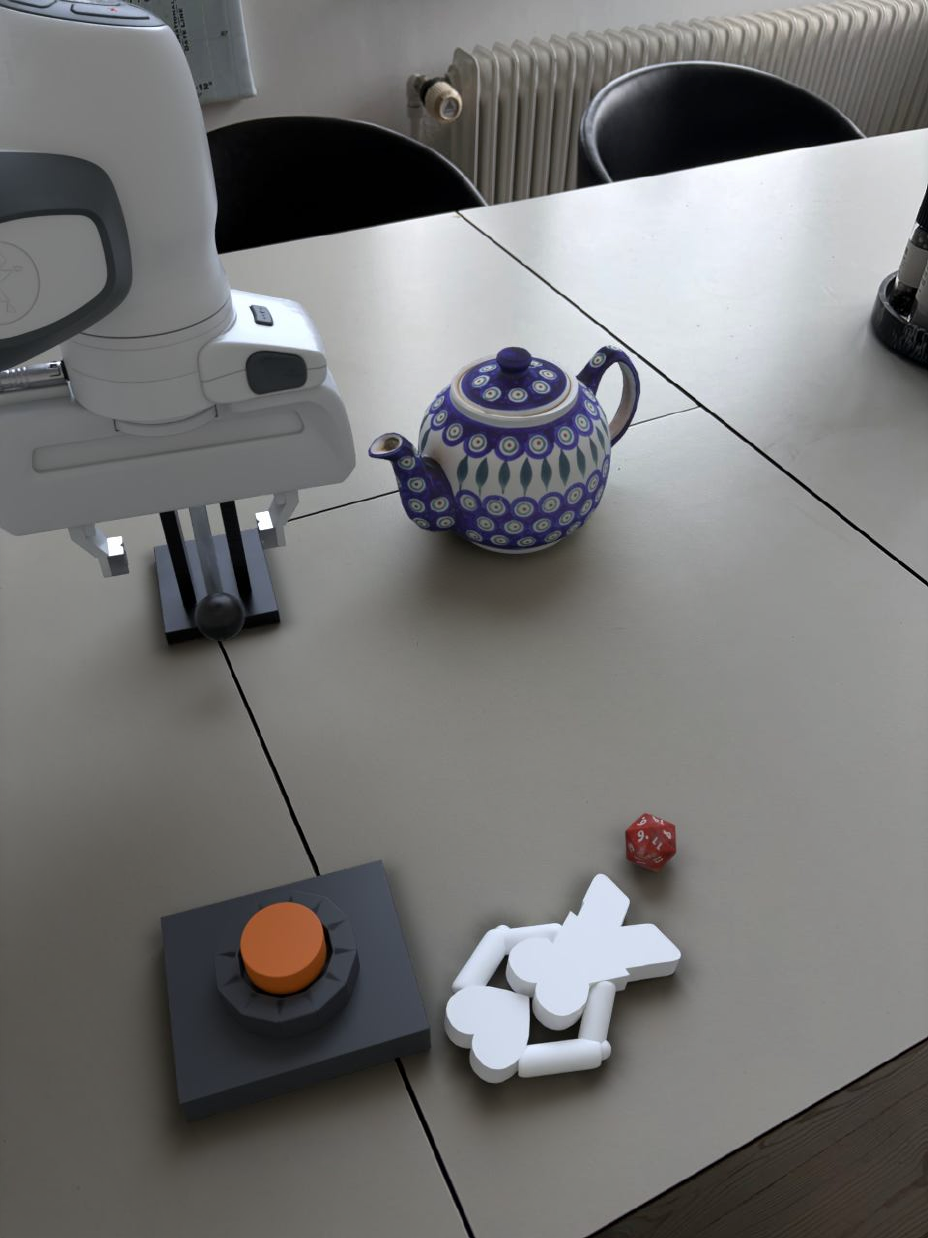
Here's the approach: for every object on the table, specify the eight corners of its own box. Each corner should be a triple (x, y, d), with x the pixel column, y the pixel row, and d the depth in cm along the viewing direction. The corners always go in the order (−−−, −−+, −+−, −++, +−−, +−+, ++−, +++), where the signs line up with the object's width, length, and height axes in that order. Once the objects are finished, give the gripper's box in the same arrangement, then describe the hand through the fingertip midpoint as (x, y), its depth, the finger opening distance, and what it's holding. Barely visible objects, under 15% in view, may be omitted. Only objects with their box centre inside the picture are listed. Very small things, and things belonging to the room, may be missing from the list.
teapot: (578, 428, 91) (592, 271, 81) (688, 513, 82) (719, 347, 72) (331, 518, 82) (312, 352, 71) (424, 625, 72) (418, 453, 62)
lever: (250, 641, 67) (247, 627, 64) (202, 651, 67) (197, 637, 64) (213, 467, 71) (209, 446, 68) (167, 475, 70) (160, 454, 67)
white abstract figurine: (410, 987, 52) (413, 964, 50) (581, 879, 58) (587, 856, 57) (519, 1132, 47) (524, 1111, 45) (693, 997, 53) (703, 975, 51)
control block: (187, 1123, 48) (170, 1088, 45) (168, 938, 55) (153, 898, 52) (431, 1048, 50) (429, 1011, 47) (383, 881, 57) (379, 840, 54)
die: (680, 847, 59) (688, 817, 57) (662, 888, 57) (669, 858, 55) (633, 827, 60) (639, 797, 58) (613, 866, 58) (619, 836, 56)
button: (251, 1005, 48) (246, 987, 47) (240, 932, 51) (234, 914, 50) (333, 981, 49) (330, 964, 48) (317, 911, 52) (314, 893, 50)
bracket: (280, 622, 73) (257, 489, 65) (168, 645, 71) (129, 511, 63) (259, 539, 80) (236, 410, 72) (156, 558, 78) (120, 428, 70)
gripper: (-67, 409, 48) (16, 622, 57) (355, 352, 52) (367, 557, 62) (-59, 347, 52) (17, 554, 61) (329, 300, 57) (344, 499, 66)
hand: (195, 555), depth 62 cm, fingers open, 8 cm apart
